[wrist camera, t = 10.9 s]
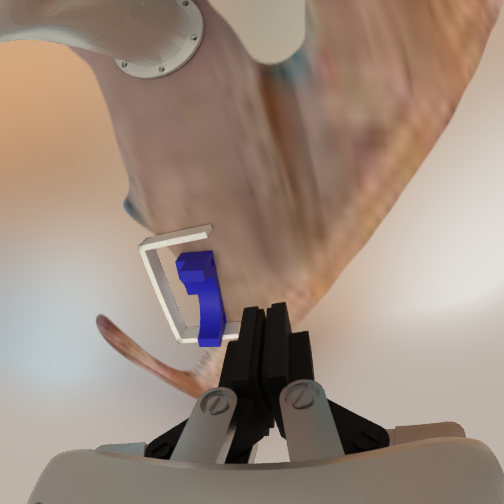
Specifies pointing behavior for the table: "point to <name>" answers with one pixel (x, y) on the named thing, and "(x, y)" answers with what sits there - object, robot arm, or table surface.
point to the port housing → (162, 286)
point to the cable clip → (204, 294)
